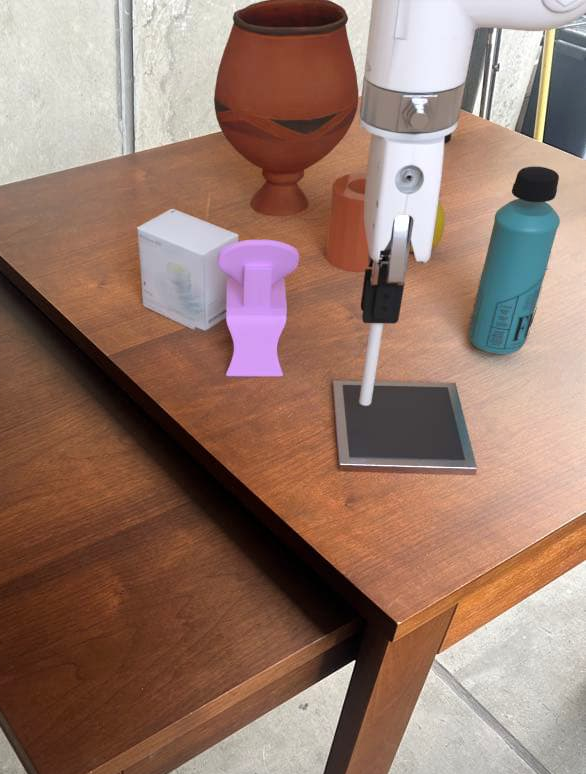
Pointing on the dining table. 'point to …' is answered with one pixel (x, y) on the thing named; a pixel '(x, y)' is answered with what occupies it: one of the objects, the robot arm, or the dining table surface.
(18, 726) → the dining table surface
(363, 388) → the stylus
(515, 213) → the beverage bottle
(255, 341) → the toy chair
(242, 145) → the goblet
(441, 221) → the lemon
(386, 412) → the tablet
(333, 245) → the pen cup
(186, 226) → the cosmetics box
